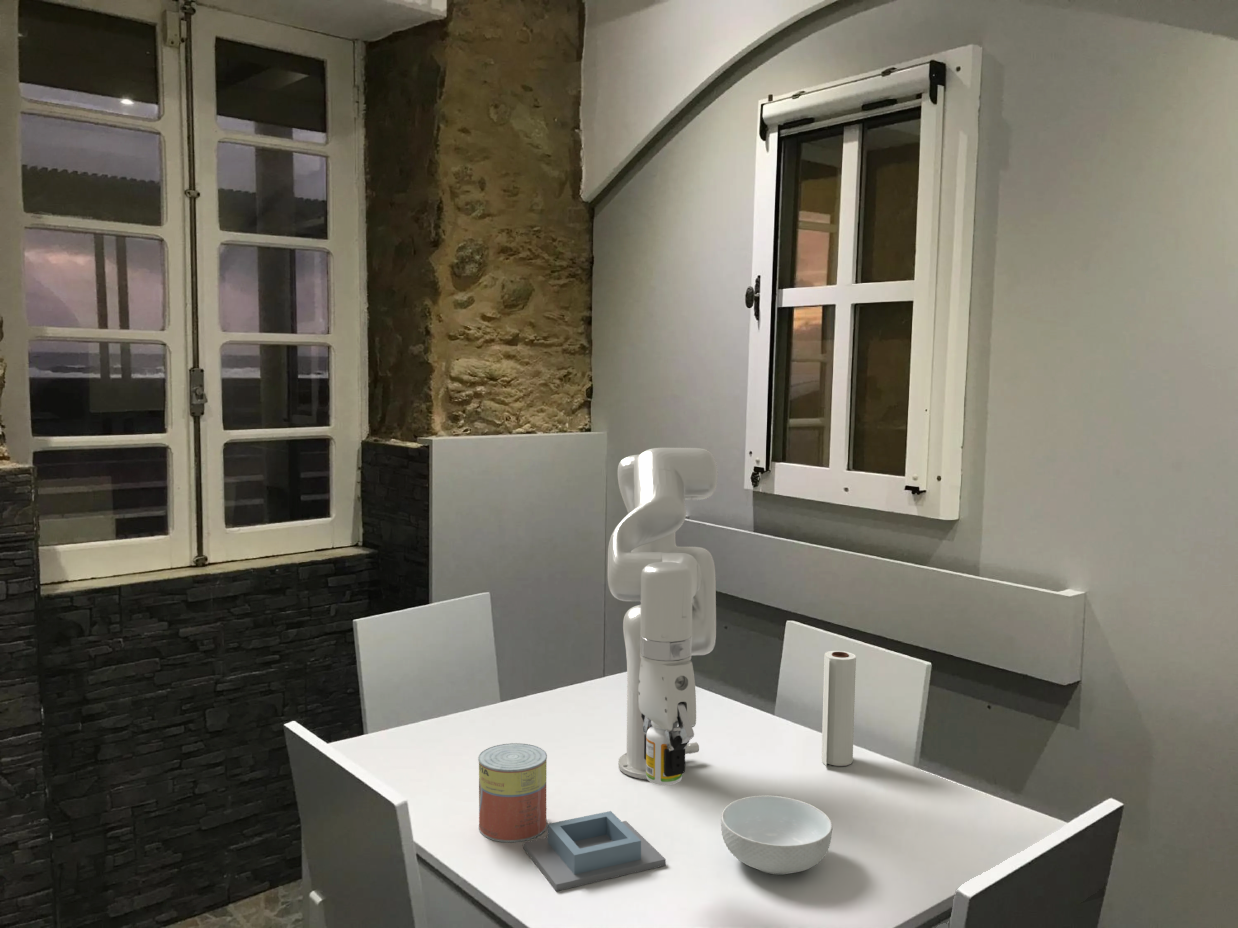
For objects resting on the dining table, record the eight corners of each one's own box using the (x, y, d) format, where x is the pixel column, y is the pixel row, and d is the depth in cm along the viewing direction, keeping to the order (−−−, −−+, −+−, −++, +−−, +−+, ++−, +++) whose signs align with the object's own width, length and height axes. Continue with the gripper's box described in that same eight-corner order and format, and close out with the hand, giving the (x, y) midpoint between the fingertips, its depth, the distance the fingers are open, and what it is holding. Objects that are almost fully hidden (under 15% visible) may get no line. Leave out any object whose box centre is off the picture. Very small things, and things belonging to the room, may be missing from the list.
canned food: (484, 809, 167) (484, 742, 165) (550, 811, 166) (550, 743, 165) (473, 841, 155) (472, 769, 154) (543, 842, 155) (543, 770, 154)
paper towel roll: (842, 753, 193) (845, 648, 191) (858, 764, 187) (862, 656, 185) (810, 757, 191) (813, 651, 189) (826, 769, 185) (829, 660, 183)
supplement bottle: (687, 774, 145) (688, 711, 144) (674, 788, 140) (675, 723, 139) (654, 768, 147) (654, 706, 146) (640, 781, 142) (640, 718, 141)
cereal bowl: (756, 900, 139) (757, 853, 138) (701, 847, 154) (701, 805, 153) (853, 876, 145) (855, 831, 145) (791, 828, 161) (792, 787, 160)
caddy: (625, 826, 161) (626, 803, 160) (665, 865, 148) (665, 840, 148) (523, 848, 153) (523, 823, 153) (556, 890, 141) (556, 864, 140)
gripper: (718, 660, 136) (716, 784, 138) (660, 629, 151) (658, 741, 153) (672, 667, 132) (670, 794, 134) (617, 635, 148) (616, 749, 150)
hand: (664, 765), depth 144 cm, fingers closed on supplement bottle, 5 cm apart
